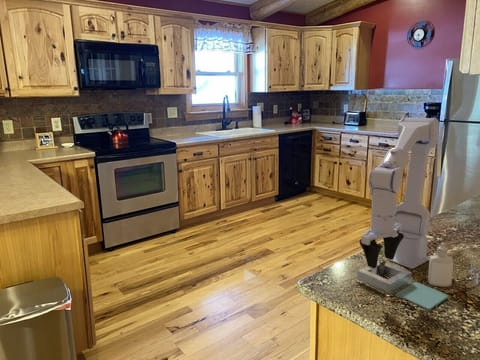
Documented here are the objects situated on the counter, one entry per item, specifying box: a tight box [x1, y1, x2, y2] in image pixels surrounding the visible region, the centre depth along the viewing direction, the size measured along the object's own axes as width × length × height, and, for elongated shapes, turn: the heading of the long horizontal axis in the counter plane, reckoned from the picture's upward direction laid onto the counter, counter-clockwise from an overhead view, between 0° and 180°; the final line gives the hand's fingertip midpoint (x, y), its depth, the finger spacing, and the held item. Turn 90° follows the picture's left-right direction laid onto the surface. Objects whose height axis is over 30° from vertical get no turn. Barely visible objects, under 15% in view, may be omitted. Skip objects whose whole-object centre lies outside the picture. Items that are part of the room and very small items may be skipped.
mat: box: [394, 281, 450, 312], centre depth 97 cm, size 10×9×1 cm
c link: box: [357, 259, 412, 296], centre depth 104 cm, size 10×10×4 cm
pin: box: [378, 259, 387, 278], centre depth 107 cm, size 2×2×5 cm
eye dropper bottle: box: [427, 242, 454, 288], centre depth 102 cm, size 4×6×12 cm
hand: (380, 262), depth 99 cm, fingers open, 7 cm apart
